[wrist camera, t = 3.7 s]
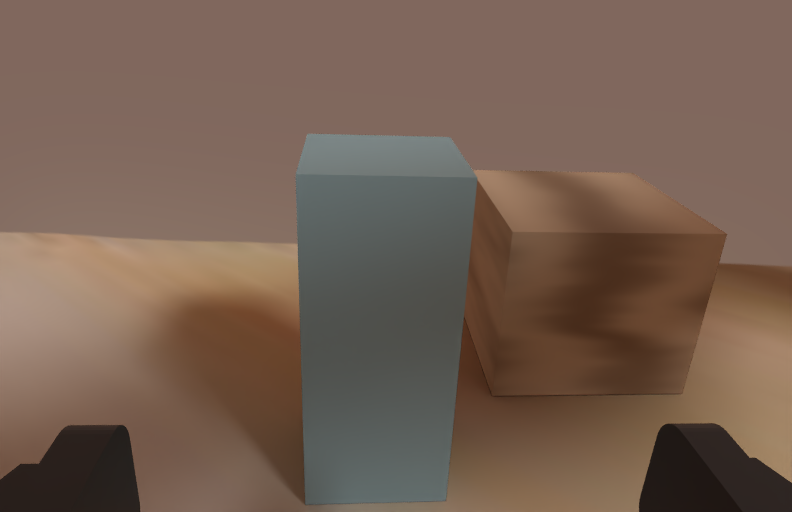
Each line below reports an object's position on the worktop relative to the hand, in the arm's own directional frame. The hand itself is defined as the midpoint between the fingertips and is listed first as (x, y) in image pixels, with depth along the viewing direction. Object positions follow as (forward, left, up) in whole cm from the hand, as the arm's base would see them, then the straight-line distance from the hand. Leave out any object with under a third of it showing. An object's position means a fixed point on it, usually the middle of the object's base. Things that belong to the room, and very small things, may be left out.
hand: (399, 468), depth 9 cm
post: (0, -11, -10) cm, 15 cm away
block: (-10, -19, -10) cm, 24 cm away
